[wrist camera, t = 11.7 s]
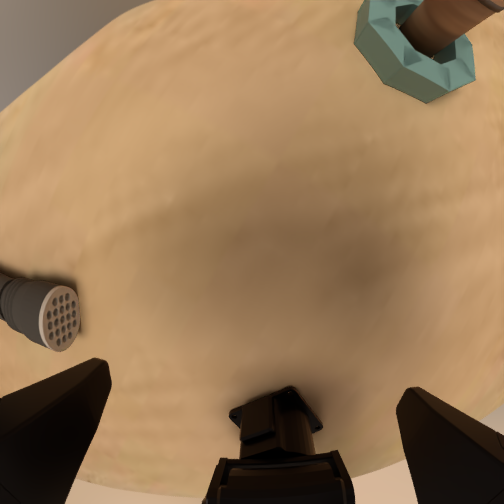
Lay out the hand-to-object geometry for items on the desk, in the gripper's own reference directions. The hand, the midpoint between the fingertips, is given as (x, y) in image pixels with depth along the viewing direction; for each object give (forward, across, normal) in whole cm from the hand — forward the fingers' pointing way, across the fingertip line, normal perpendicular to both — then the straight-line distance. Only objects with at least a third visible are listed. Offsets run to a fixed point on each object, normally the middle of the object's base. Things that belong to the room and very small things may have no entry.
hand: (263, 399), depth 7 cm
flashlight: (+14, +22, +6) cm, 27 cm away
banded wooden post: (+13, -10, -19) cm, 25 cm away
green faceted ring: (+13, -10, -19) cm, 25 cm away
